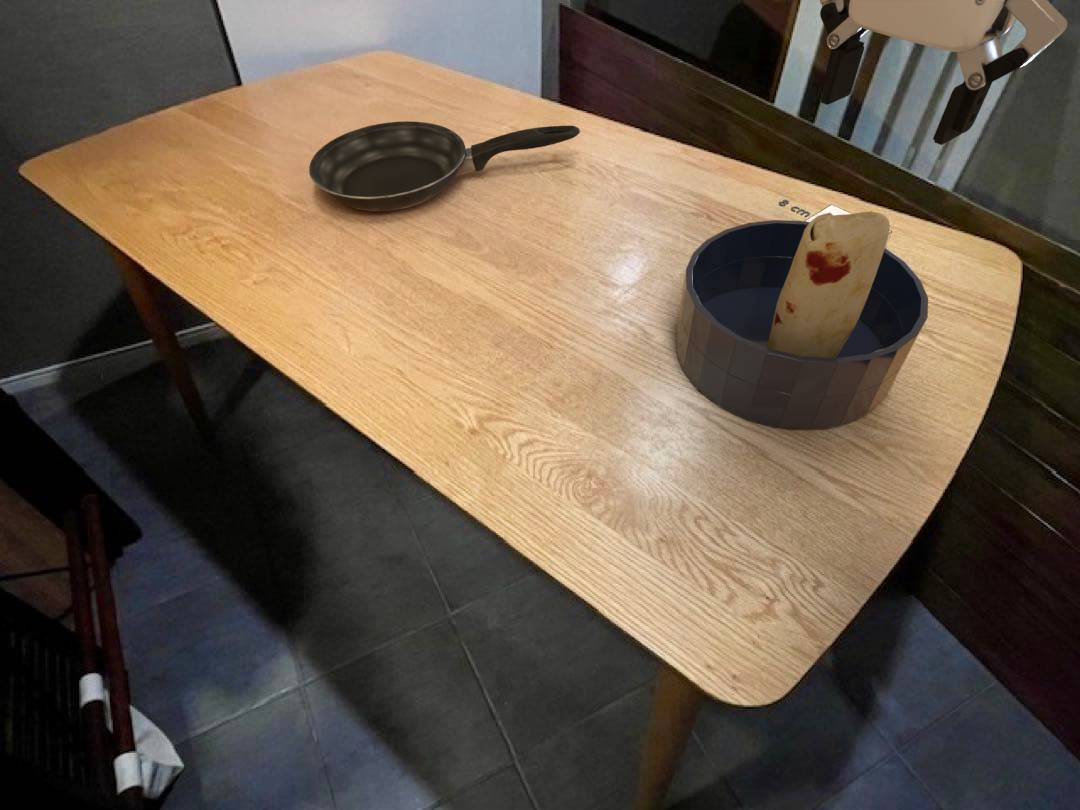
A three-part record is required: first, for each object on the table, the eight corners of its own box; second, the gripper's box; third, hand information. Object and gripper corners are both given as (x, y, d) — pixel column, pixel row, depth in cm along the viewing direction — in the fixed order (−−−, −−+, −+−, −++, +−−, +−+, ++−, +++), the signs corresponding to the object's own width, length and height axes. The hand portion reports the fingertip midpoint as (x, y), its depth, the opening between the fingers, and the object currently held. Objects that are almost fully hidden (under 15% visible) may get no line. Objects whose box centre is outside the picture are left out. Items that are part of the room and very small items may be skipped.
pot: (936, 360, 73) (976, 290, 66) (799, 468, 64) (828, 401, 57) (766, 265, 87) (784, 198, 79) (633, 342, 78) (639, 275, 70)
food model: (779, 410, 68) (834, 253, 54) (740, 372, 73) (781, 215, 58) (849, 380, 71) (921, 221, 56) (808, 344, 75) (864, 187, 60)
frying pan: (306, 232, 98) (291, 191, 93) (329, 154, 114) (318, 116, 109) (590, 209, 98) (590, 167, 93) (572, 135, 115) (571, 97, 110)
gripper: (1189, -176, 34) (1026, 139, 47) (893, -189, 44) (824, 75, 56) (1127, -158, 31) (970, 173, 44) (825, -176, 41) (768, 99, 53)
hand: (888, 117), depth 50 cm, fingers open, 9 cm apart
